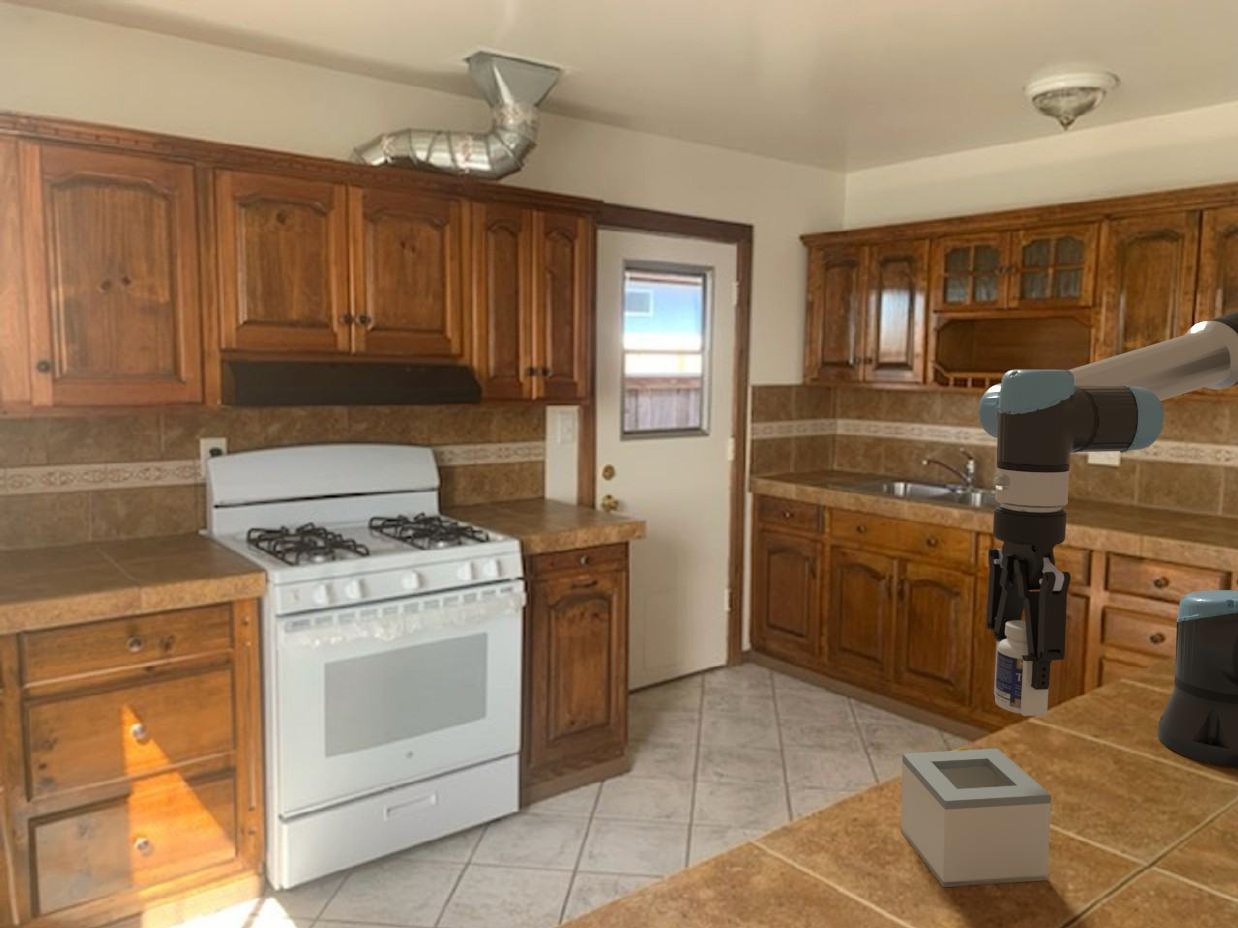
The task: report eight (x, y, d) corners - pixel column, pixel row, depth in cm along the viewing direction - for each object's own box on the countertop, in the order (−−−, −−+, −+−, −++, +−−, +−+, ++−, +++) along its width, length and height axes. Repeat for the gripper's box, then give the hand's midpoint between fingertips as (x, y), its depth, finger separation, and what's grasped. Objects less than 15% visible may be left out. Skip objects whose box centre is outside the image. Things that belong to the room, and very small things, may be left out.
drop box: (995, 825, 114) (997, 748, 113) (1047, 879, 102) (1050, 794, 101) (901, 831, 113) (902, 753, 112) (943, 886, 101) (945, 800, 100)
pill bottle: (1016, 717, 103) (1020, 633, 102) (984, 700, 108) (988, 620, 107) (1056, 712, 105) (1061, 629, 104) (1023, 696, 110) (1027, 616, 109)
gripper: (961, 494, 113) (953, 677, 115) (1042, 520, 94) (1030, 737, 97) (1019, 494, 113) (1010, 676, 116) (1111, 519, 95) (1098, 735, 98)
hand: (1019, 703), depth 107 cm, fingers closed on pill bottle, 5 cm apart
